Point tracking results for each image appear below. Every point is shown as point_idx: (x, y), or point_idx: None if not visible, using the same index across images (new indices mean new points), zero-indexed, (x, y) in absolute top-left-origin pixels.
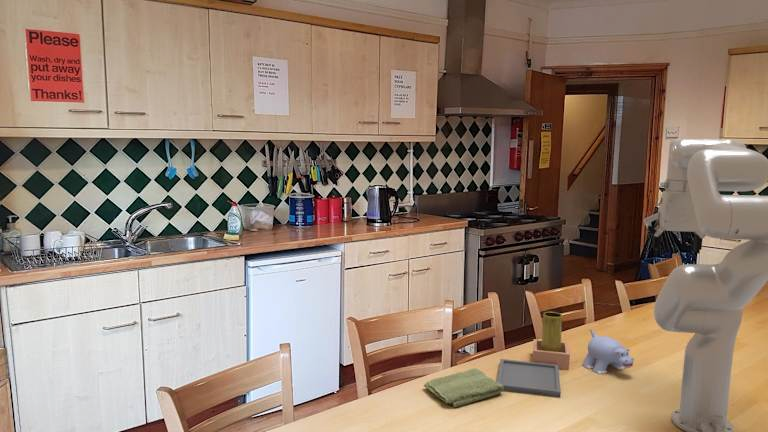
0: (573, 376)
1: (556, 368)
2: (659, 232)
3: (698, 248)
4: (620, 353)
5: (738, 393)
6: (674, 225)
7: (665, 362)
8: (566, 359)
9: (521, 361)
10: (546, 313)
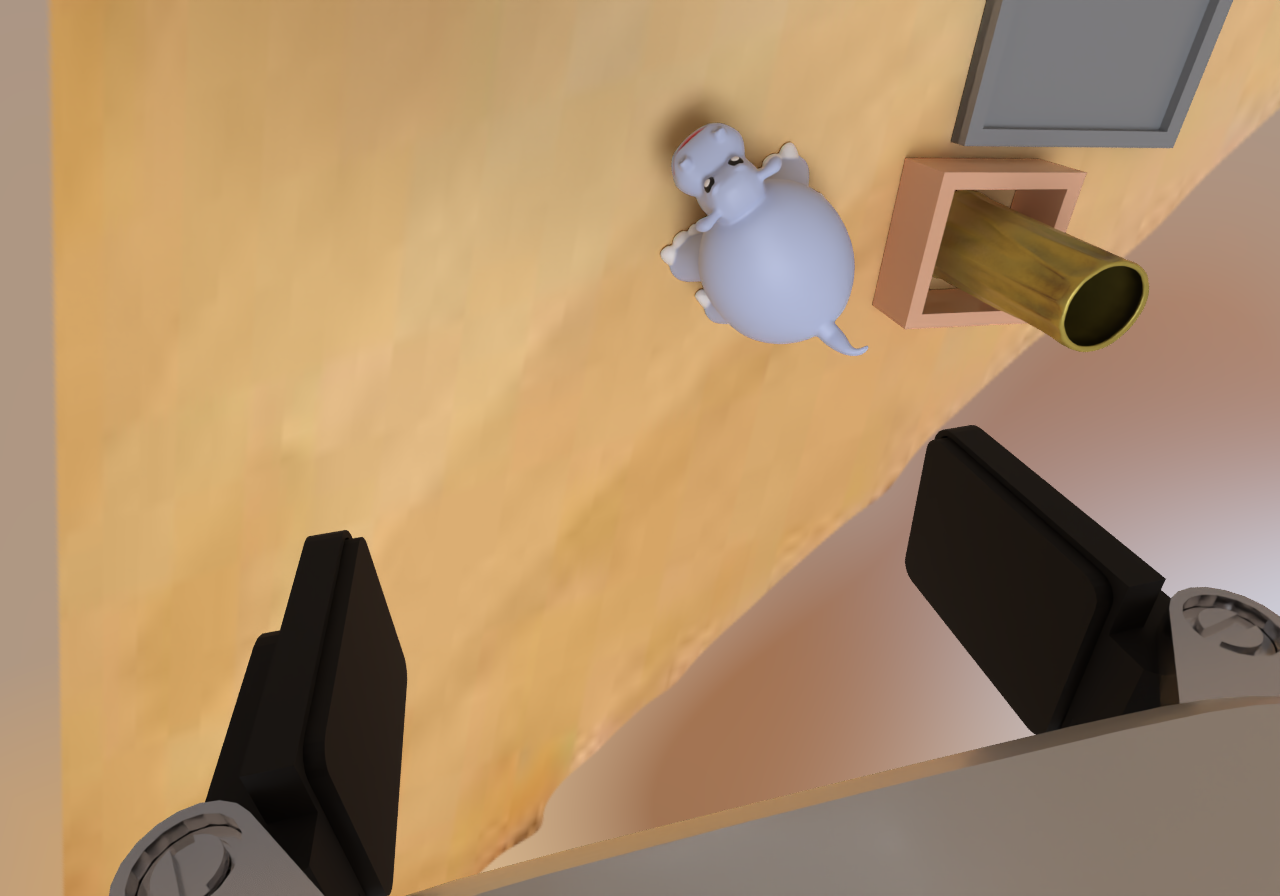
0: (907, 81)
1: (985, 97)
2: (1231, 676)
3: (318, 586)
4: (749, 165)
5: (171, 73)
6: (1233, 890)
7: (482, 371)
8: (941, 167)
9: (1101, 141)
10: (1114, 332)
